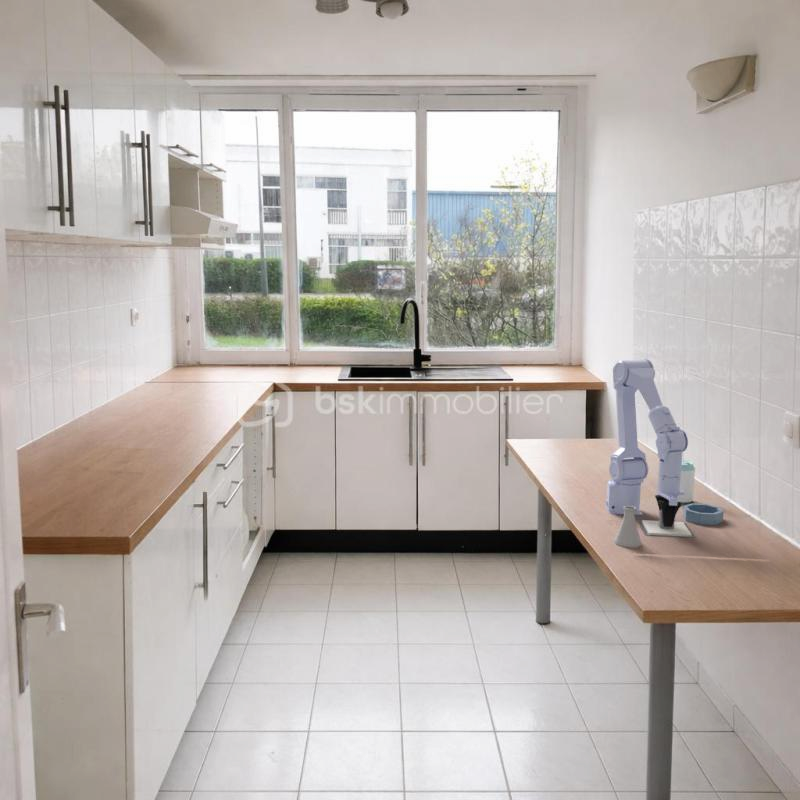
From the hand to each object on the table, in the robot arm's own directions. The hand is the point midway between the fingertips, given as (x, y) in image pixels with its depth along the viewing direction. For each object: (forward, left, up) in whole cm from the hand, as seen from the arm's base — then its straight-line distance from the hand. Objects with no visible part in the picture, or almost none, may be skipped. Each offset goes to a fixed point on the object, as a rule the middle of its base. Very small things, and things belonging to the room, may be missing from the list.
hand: (666, 524), depth 240 cm
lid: (0, 0, -1) cm, 1 cm away
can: (+10, +31, -2) cm, 32 cm away
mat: (0, 0, -2) cm, 2 cm away
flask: (-12, -13, -2) cm, 18 cm away
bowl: (+12, +11, -2) cm, 16 cm away
